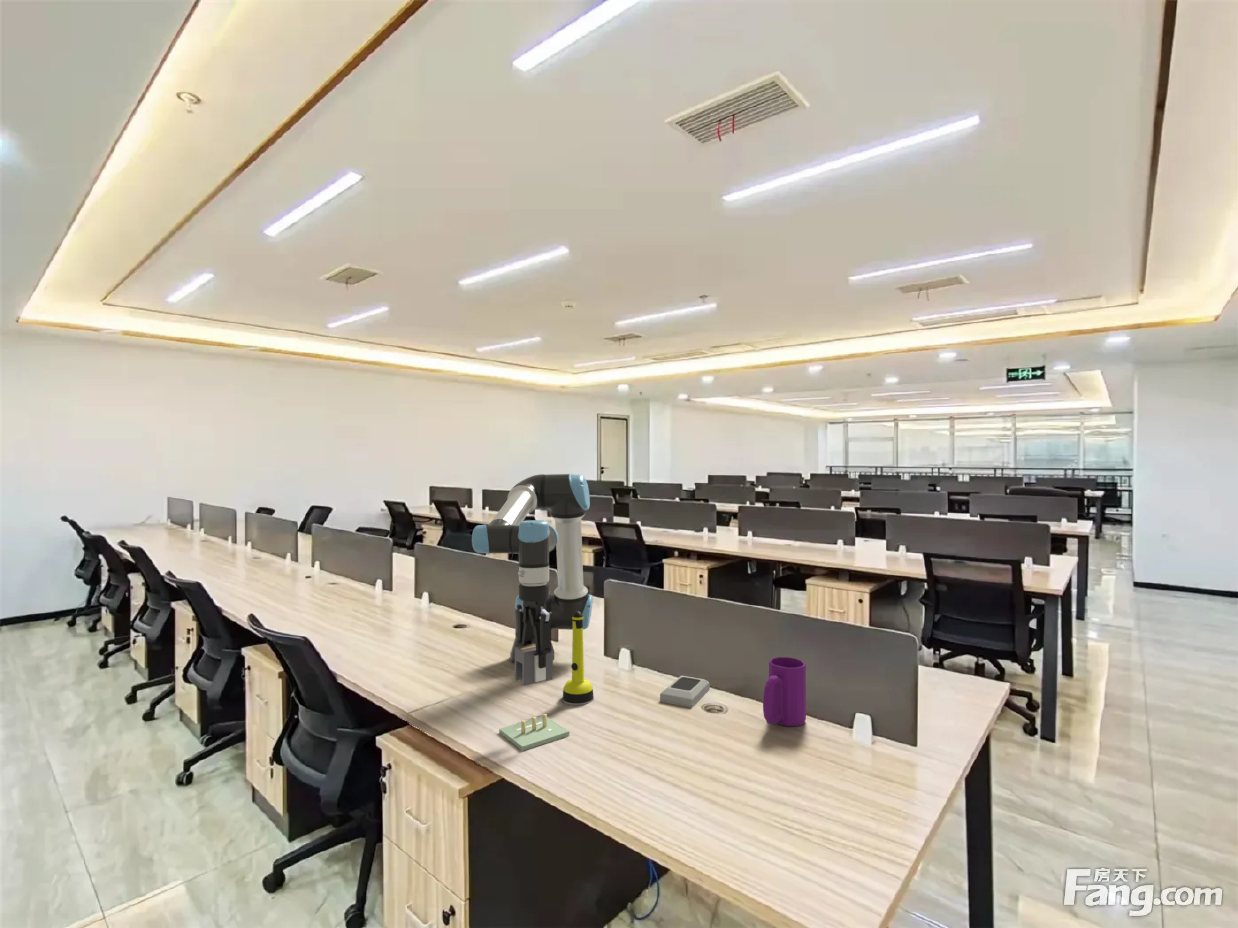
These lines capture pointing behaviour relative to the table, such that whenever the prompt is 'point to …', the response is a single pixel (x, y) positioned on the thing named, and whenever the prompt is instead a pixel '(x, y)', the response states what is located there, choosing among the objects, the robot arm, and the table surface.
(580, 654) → the flashlight
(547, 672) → the plug housing
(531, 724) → the board
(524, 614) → the robot arm
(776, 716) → the mug
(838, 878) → the table surface
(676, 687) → the grey flat block
